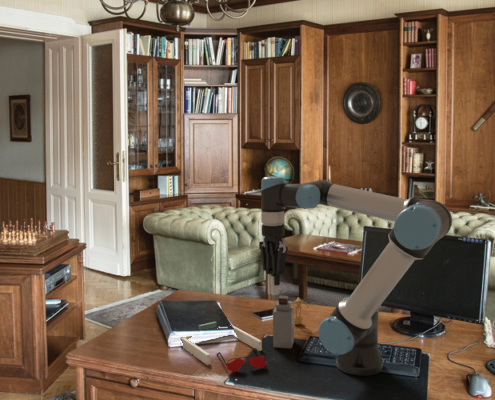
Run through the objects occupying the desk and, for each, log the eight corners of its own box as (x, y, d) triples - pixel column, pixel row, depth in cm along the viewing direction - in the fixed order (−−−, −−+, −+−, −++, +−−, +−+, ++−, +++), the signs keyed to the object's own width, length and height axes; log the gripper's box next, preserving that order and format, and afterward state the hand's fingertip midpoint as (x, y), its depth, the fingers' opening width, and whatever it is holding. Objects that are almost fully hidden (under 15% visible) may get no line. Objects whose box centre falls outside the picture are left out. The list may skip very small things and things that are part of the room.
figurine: (307, 322, 228) (307, 294, 227) (309, 327, 222) (309, 298, 221) (287, 323, 228) (286, 294, 227) (288, 328, 222) (288, 298, 221)
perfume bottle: (291, 348, 201) (291, 300, 199) (273, 347, 203) (272, 299, 200) (293, 341, 208) (293, 294, 206) (276, 340, 209) (275, 294, 207)
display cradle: (261, 350, 200) (261, 332, 199) (207, 365, 188) (206, 346, 187) (232, 333, 217) (232, 317, 216) (180, 346, 205) (180, 329, 204)
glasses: (226, 375, 181) (226, 360, 180) (216, 355, 197) (215, 342, 196) (267, 369, 184) (267, 355, 184) (254, 351, 200) (254, 337, 200)
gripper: (295, 225, 178) (295, 296, 181) (269, 219, 190) (270, 286, 193) (276, 227, 174) (277, 300, 177) (251, 222, 186) (252, 290, 189)
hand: (273, 293), depth 185 cm, fingers closed
